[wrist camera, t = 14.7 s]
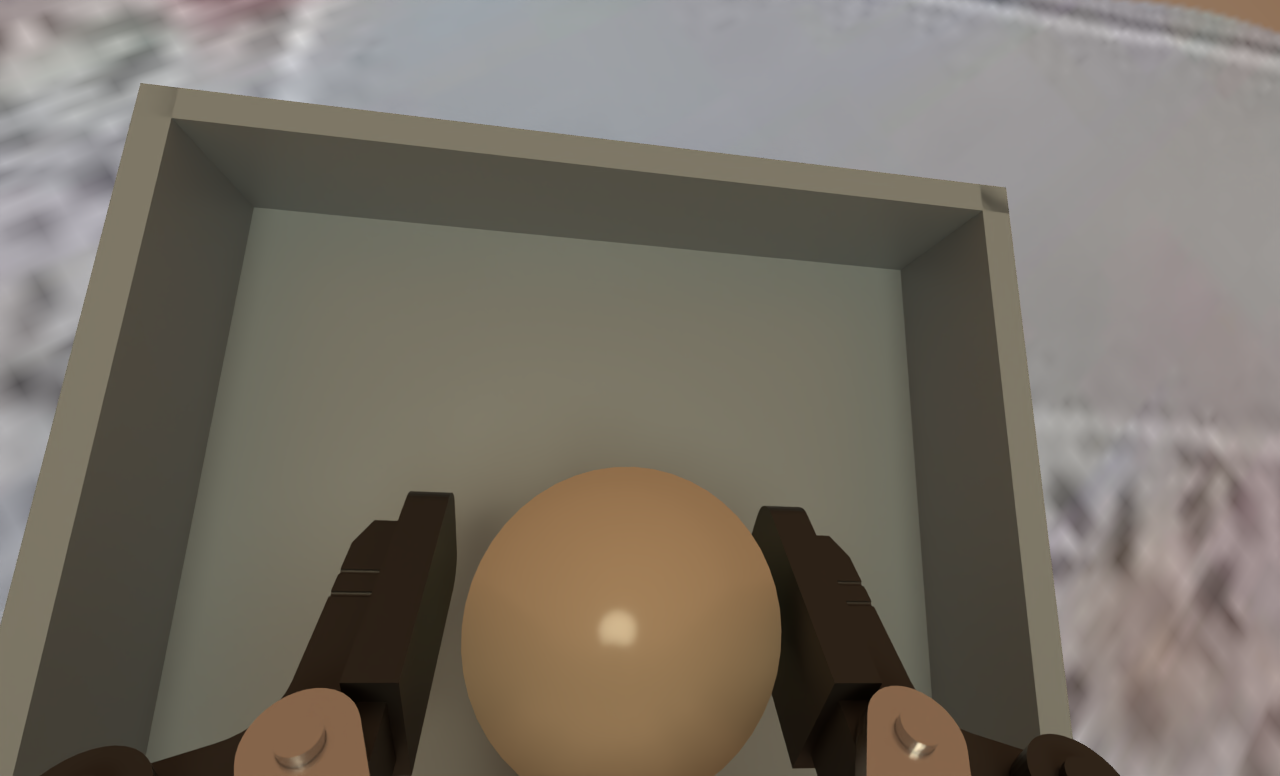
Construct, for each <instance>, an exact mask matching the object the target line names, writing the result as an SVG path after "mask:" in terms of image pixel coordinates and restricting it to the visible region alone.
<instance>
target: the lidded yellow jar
mask: <svg viewBox="0 0 1280 776" xmlns="http://www.w3.org/2000/svg"><path fill="white" fill-rule="evenodd" d="M780 652H781V618H780V607H779V602H778V597H777V592H776V587H775V584H774V581H773V578H772V575H771V572H770V569H769V566H768V564H767V562H766V560H765V558H764V555H763V553H762V551H761V549H760V547H759V546H758V544H757V543H756V541H755V539H754V538H753V536H752V534H751V533H750V531H749V530H748V529H747V528H746V526H745V525H744V524H743V523H742V521H741V520H740V519H739V518H738V516H737V515H736V514H734V513H733V512H732V511H731V510H730V509H729V508H728V507H727V506H726V505H725V504H724V503H723V502H722V501H720V500H719V499H718V498H716V497H715V496H714V495H712V494H711V493H710V492H708V491H707V490H705V489H703V488H702V487H700V486H698V485H696V484H694V483H693V482H691V481H689V480H686V479H684V478H681V477H679V476H676V475H674V474H671V473H667V472H663V471H659V470H655V469H648V468H639V467H612V468H605V469H598V470H593V471H589V472H586V473H582V474H579V475H576V476H573V477H571V478H568V479H566V480H564V481H561V482H559V483H557V484H555V485H553V486H552V487H550V488H548V489H547V490H545V491H543V492H542V493H540V494H538V495H537V496H536V497H534V498H533V499H532V500H530V501H529V502H528V503H527V504H525V505H524V506H523V507H522V508H520V509H519V510H518V512H517V513H516V514H515V515H514V516H513V517H512V518H511V519H510V520H509V521H508V522H507V523H506V524H505V525H504V526H503V528H502V529H501V530H500V532H499V533H498V534H497V536H496V537H495V538H494V539H493V541H492V542H491V544H490V546H489V547H488V549H487V551H486V553H485V554H484V556H483V558H482V559H481V561H480V564H479V566H478V568H477V571H476V573H475V575H474V578H473V580H472V583H471V586H470V590H469V593H468V597H467V600H466V604H465V609H464V616H463V622H462V634H461V656H462V666H463V675H464V679H465V684H466V688H467V692H468V697H469V699H470V702H471V705H472V707H473V710H474V713H475V715H476V718H477V720H478V722H479V724H480V726H481V728H482V729H483V731H484V733H485V735H486V737H487V739H488V740H489V742H490V743H491V744H492V746H493V747H494V748H495V750H496V751H497V752H498V754H499V755H500V756H501V758H502V759H503V760H504V761H505V762H506V763H507V764H508V765H509V766H510V767H511V768H512V769H513V770H514V771H515V772H516V773H517V774H518V775H519V776H714V775H716V774H717V773H718V772H719V771H721V770H722V769H723V768H724V767H725V766H726V765H727V764H728V763H729V762H730V761H731V760H732V759H733V758H734V757H735V756H736V755H737V754H738V752H739V751H740V750H741V748H742V747H743V746H744V744H745V743H746V742H747V740H748V739H749V738H750V736H751V735H752V733H753V731H754V730H755V728H756V726H757V724H758V723H759V721H760V719H761V717H762V716H763V713H764V711H765V708H766V706H767V704H768V701H769V699H770V696H771V694H772V690H773V686H774V683H775V679H776V676H777V671H778V665H779V659H780Z"/></svg>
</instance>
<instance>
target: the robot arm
mask: <svg viewBox="0 0 1280 776" xmlns="http://www.w3.org/2000/svg"><path fill="white" fill-rule="evenodd" d="M752 536H753V538H754V539H755V541H756V543H757V544H758V546H759V547H760V549H761V551H762V553H763V555H764V558H765V560H766V562H767V564H768V566H769V569H770V572H771V575H772V578H773V581H774V584H775V587H776V592H777V597H778V602H779V607H780V618H781V652H780V659H779V665H778V671H777V676H776V679H775V683H774V686H773V690H772V697H773V701H774V704H775V708H776V711H777V715H778V719H779V722H780V726H781V729H782V733H783V737H784V740H785V744H786V747H787V751H788V755H789V758H790V762H791V765H792V769H800V768H815V770H816V773H817V776H1120V775H1119V774H1118V773H1117V772H1116V771H1115V770H1114V768H1113V767H1112V766H1111V765H1110V764H1109V763H1107V762H1106V761H1105V760H1104V759H1103V758H1102V757H1101V756H1099V755H1098V754H1097V753H1095V752H1094V751H1093V750H1091V749H1090V748H1088V747H1087V746H1085V745H1083V744H1081V743H1079V742H1078V741H1076V740H1073V739H1071V738H1068V737H1066V736H1062V735H1058V734H1042V735H1039V736H1037V737H1035V738H1034V739H1033V740H1032V741H1031V742H1030V743H1029V744H1028V745H1027V746H1026V748H1025V749H1024V750H1023V749H1020V748H1017V747H1013V746H1010V745H1007V744H1004V743H1001V742H998V741H995V740H992V739H988V738H985V737H982V736H979V735H976V734H973V733H970V732H968V731H965V730H963V729H961V728H959V726H958V725H957V723H956V722H955V721H954V719H953V718H952V717H951V716H950V714H949V713H948V712H947V711H946V710H945V709H944V708H943V707H942V706H941V705H940V704H938V703H937V702H936V701H934V700H933V699H932V698H930V697H929V696H927V695H925V694H923V693H922V692H919V691H917V690H916V689H915V688H914V686H913V684H912V682H911V681H910V679H909V677H908V675H907V673H906V670H905V668H904V666H903V664H902V662H901V660H900V658H899V656H898V654H897V652H896V650H895V648H894V646H893V644H892V642H891V640H890V638H889V636H888V634H887V632H886V630H885V628H884V626H883V624H882V622H881V620H880V618H879V615H878V613H877V611H876V609H875V607H874V606H872V605H871V599H870V597H869V595H868V593H867V591H866V589H865V587H864V586H862V584H861V582H862V581H861V579H860V577H859V575H858V573H857V571H856V569H855V567H854V565H853V563H852V560H851V558H850V557H849V556H848V555H847V554H846V553H845V552H844V550H843V549H842V548H841V547H840V546H839V545H838V544H837V543H836V542H835V541H834V540H833V539H832V538H831V537H830V536H824V535H816V533H815V531H814V529H813V526H812V524H811V522H810V520H809V517H808V515H807V513H806V511H805V510H804V509H803V508H801V507H785V506H762V507H761V508H760V510H759V512H758V515H757V518H756V521H755V524H754V528H753V531H752ZM456 566H457V539H456V518H455V498H454V494H453V493H449V492H423V491H410V492H409V493H408V495H407V497H406V499H405V502H404V505H403V508H402V510H401V513H400V516H399V519H398V521H390V520H374V521H373V522H372V523H371V524H370V525H369V526H368V527H367V528H366V529H365V530H364V531H363V532H362V533H361V534H360V535H359V536H358V537H357V538H356V539H355V540H354V541H353V542H352V543H351V546H350V548H349V550H348V552H347V555H346V557H345V559H344V562H343V564H342V566H341V571H340V574H338V576H337V578H336V580H335V583H334V585H333V587H332V589H331V595H330V596H328V599H327V601H326V603H325V606H324V608H323V610H322V613H321V615H320V617H319V620H318V622H317V624H316V626H315V629H314V631H313V633H312V636H311V638H310V640H309V643H308V645H307V647H306V650H305V652H304V654H303V657H302V659H301V661H300V663H299V666H298V668H297V670H296V673H295V675H294V677H293V680H292V682H291V684H290V686H289V688H288V689H287V691H286V692H285V694H284V695H283V697H282V698H281V700H279V701H277V702H275V703H274V704H273V705H271V706H270V707H268V708H267V709H266V710H265V711H264V712H262V713H261V714H260V715H259V716H258V717H257V718H256V719H255V720H254V721H253V723H252V724H251V725H250V726H249V728H247V729H246V730H244V731H242V732H241V733H239V734H237V735H235V736H233V737H231V738H228V739H226V740H223V741H220V742H218V743H215V744H212V745H208V746H205V747H202V748H199V749H195V750H192V751H189V752H186V753H182V754H179V755H176V756H173V757H169V758H166V759H163V760H159V761H156V762H153V763H150V761H149V759H148V758H147V757H146V756H145V755H144V754H143V753H142V752H140V751H138V750H137V749H135V748H131V747H127V746H117V745H114V746H104V747H99V748H95V749H91V750H88V751H85V752H82V753H79V754H77V755H75V756H73V757H70V758H68V759H66V760H64V761H62V762H61V763H59V764H57V765H55V766H54V767H52V768H50V769H49V770H47V771H46V772H45V773H43V774H42V775H40V776H412V772H413V768H414V763H415V759H416V754H417V750H418V745H419V741H420V736H421V732H422V727H423V723H424V718H425V714H426V709H427V705H428V700H429V696H430V691H431V687H432V682H433V678H434V673H435V669H436V664H437V660H438V655H439V651H440V646H441V642H442V637H443V633H444V628H445V624H446V619H447V615H448V610H449V606H450V601H451V597H452V592H453V588H454V582H455V575H456Z"/></svg>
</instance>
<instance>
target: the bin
mask: <svg viewBox="0 0 1280 776" xmlns="http://www.w3.org/2000/svg"><path fill="white" fill-rule="evenodd" d="M612 467H639V468H648V469H655V470H659V471H663V472H667V473H671V474H674V475H676V476H679V477H681V478H684V479H686V480H689V481H691V482H693V483H694V484H696V485H698V486H700V487H702V488H703V489H705V490H707V491H708V492H710V493H711V494H712V495H714V496H715V497H716V498H718V499H719V500H720V501H722V502H723V503H724V504H725V505H726V506H727V507H728V508H729V509H730V510H731V511H732V512H733V513H734V514H736V515H737V516H738V518H739V519H740V520H741V521H742V523H743V524H744V525H745V526H746V528H747V529H748V530H749V531H750V533H751V534H752V531H753V528H754V524H755V521H756V518H757V515H758V512H759V510H760V508H761V507H762V506H785V507H801V508H803V509H804V510H805V511H806V513H807V515H808V517H809V520H810V522H811V524H812V526H813V529H814V531H815V533H816V535H824V536H830V537H831V538H832V539H833V540H834V541H835V542H836V543H837V544H838V545H839V546H840V547H841V548H842V549H843V550H844V552H845V553H846V554H847V555H848V556H849V557H850V558H851V560H852V563H853V565H854V567H855V569H856V571H857V573H858V575H859V577H860V579H861V581H862V582H861V584H862V586H864V587H865V589H866V591H867V593H868V595H869V597H870V599H871V605H872V606H874V607H875V609H876V611H877V613H878V615H879V618H880V620H881V622H882V624H883V626H884V628H885V630H886V632H887V634H888V636H889V638H890V640H891V642H892V644H893V646H894V648H895V650H896V652H897V654H898V656H899V658H900V660H901V662H902V664H903V666H904V668H905V670H906V673H907V675H908V677H909V679H910V681H911V682H912V684H913V686H914V688H915V689H916V690H917V691H919V692H922V693H923V694H925V695H927V696H929V697H930V698H932V699H933V700H934V701H936V702H937V703H938V704H940V705H941V706H942V707H943V708H944V709H945V710H946V711H947V712H948V713H949V714H950V716H951V717H952V718H953V719H954V721H955V722H956V723H957V725H958V726H959V728H961V729H963V730H965V731H968V732H970V733H973V734H976V735H979V736H982V737H985V738H988V739H992V740H995V741H998V742H1001V743H1004V744H1007V745H1010V746H1013V747H1017V748H1020V749H1023V750H1024V749H1025V748H1026V746H1027V745H1028V744H1029V743H1030V742H1031V741H1032V740H1033V739H1034V738H1035V737H1037V736H1039V735H1042V734H1058V735H1062V736H1066V737H1068V738H1071V739H1073V737H1072V729H1071V721H1070V713H1069V704H1068V696H1067V688H1066V680H1065V671H1064V663H1063V655H1062V647H1061V638H1060V630H1059V622H1058V614H1057V605H1056V597H1055V589H1054V581H1053V572H1052V564H1051V556H1050V548H1049V539H1048V531H1047V523H1046V515H1045V506H1044V498H1043V490H1042V482H1041V473H1040V465H1039V457H1038V449H1037V440H1036V432H1035V424H1034V416H1033V407H1032V399H1031V391H1030V383H1029V374H1028V366H1027V358H1026V350H1025V341H1024V333H1023V325H1022V317H1021V308H1020V300H1019V292H1018V284H1017V275H1016V267H1015V259H1014V251H1013V242H1012V234H1011V226H1010V218H1009V209H1008V201H1007V193H1006V188H1005V187H996V186H988V185H980V184H972V183H963V182H955V181H947V180H938V179H930V178H922V177H914V176H905V175H897V174H889V173H880V172H872V171H864V170H856V169H847V168H839V167H831V166H822V165H814V164H806V163H798V162H789V161H781V160H773V159H764V158H756V157H748V156H740V155H731V154H723V153H715V152H706V151H698V150H690V149H682V148H673V147H665V146H657V145H648V144H640V143H632V142H624V141H615V140H607V139H599V138H590V137H582V136H574V135H566V134H557V133H549V132H541V131H532V130H524V129H516V128H508V127H499V126H491V125H483V124H474V123H466V122H458V121H450V120H441V119H433V118H425V117H416V116H408V115H400V114H392V113H383V112H375V111H367V110H358V109H350V108H342V107H334V106H325V105H317V104H309V103H300V102H292V101H284V100H276V99H267V98H259V97H251V96H242V95H234V94H226V93H218V92H209V91H201V90H193V89H184V88H176V87H168V86H160V85H151V84H143V83H141V84H140V88H139V92H138V96H137V100H136V103H135V107H134V111H133V115H132V119H131V123H130V127H129V130H128V134H127V138H126V142H125V146H124V150H123V154H122V158H121V161H120V165H119V169H118V173H117V177H116V181H115V185H114V188H113V192H112V196H111V200H110V204H109V208H108V212H107V215H106V219H105V223H104V227H103V231H102V235H101V239H100V243H99V246H98V250H97V254H96V258H95V262H94V266H93V270H92V273H91V277H90V281H89V285H88V289H87V293H86V297H85V300H84V304H83V308H82V312H81V316H80V320H79V324H78V328H77V331H76V335H75V339H74V343H73V347H72V351H71V355H70V358H69V362H68V366H67V370H66V374H65V378H64V382H63V385H62V389H61V393H60V397H59V401H58V405H57V409H56V413H55V416H54V420H53V424H52V428H51V432H50V436H49V440H48V443H47V447H46V451H45V455H44V459H43V463H42V467H41V470H40V474H39V478H38V482H37V486H36V490H35V494H34V498H33V501H32V505H31V509H30V513H29V517H28V521H27V525H26V528H25V532H24V536H23V540H22V544H21V548H20V552H19V555H18V559H17V563H16V567H15V571H14V575H13V579H12V583H11V586H10V590H9V594H8V598H7V602H6V606H5V610H4V613H3V617H2V621H1V625H0V776H40V775H42V774H43V773H45V772H46V771H47V770H49V769H50V768H52V767H54V766H55V765H57V764H59V763H61V762H62V761H64V760H66V759H68V758H70V757H73V756H75V755H77V754H79V753H82V752H85V751H88V750H91V749H95V748H99V747H104V746H114V745H117V746H127V747H131V748H135V749H137V750H138V751H140V752H142V753H143V754H144V755H145V756H146V757H147V758H148V759H149V761H150V763H153V762H156V761H159V760H163V759H166V758H169V757H173V756H176V755H179V754H182V753H186V752H189V751H192V750H195V749H199V748H202V747H205V746H208V745H212V744H215V743H218V742H220V741H223V740H226V739H228V738H231V737H233V736H235V735H237V734H239V733H241V732H242V731H244V730H246V729H247V728H249V726H250V725H251V724H252V723H253V721H254V720H255V719H256V718H257V717H258V716H259V715H260V714H261V713H262V712H264V711H265V710H266V709H267V708H268V707H270V706H271V705H273V704H274V703H275V702H277V701H279V700H281V698H282V697H283V695H284V694H285V692H286V691H287V689H288V688H289V686H290V684H291V682H292V680H293V677H294V675H295V673H296V670H297V668H298V666H299V663H300V661H301V659H302V657H303V654H304V652H305V650H306V647H307V645H308V643H309V640H310V638H311V636H312V633H313V631H314V629H315V626H316V624H317V622H318V620H319V617H320V615H321V613H322V610H323V608H324V606H325V603H326V601H327V599H328V596H330V595H331V589H332V587H333V585H334V583H335V580H336V578H337V576H338V574H340V571H341V566H342V564H343V562H344V559H345V557H346V555H347V552H348V550H349V548H350V546H351V543H352V542H353V541H354V540H355V539H356V538H357V537H358V536H359V535H360V534H361V533H362V532H363V531H364V530H365V529H366V528H367V527H368V526H369V525H370V524H371V523H372V522H373V521H374V520H390V521H398V519H399V516H400V513H401V510H402V508H403V505H404V502H405V499H406V497H407V495H408V493H409V492H410V491H423V492H449V493H453V494H454V498H455V518H456V539H457V566H456V575H455V582H454V588H453V592H452V597H451V601H450V606H449V610H448V615H447V619H446V624H445V628H444V633H443V637H442V642H441V646H440V651H439V655H438V660H437V664H436V669H435V673H434V678H433V682H432V687H431V691H430V696H429V700H428V705H427V709H426V714H425V718H424V723H423V727H422V732H421V736H420V741H419V745H418V750H417V754H416V759H415V763H414V768H413V772H412V776H519V775H518V774H517V773H516V772H515V771H514V770H513V769H512V768H511V767H510V766H509V765H508V764H507V763H506V762H505V761H504V760H503V759H502V758H501V756H500V755H499V754H498V752H497V751H496V750H495V748H494V747H493V746H492V744H491V743H490V742H489V740H488V739H487V737H486V735H485V733H484V731H483V729H482V728H481V726H480V724H479V722H478V720H477V718H476V715H475V713H474V710H473V707H472V705H471V702H470V699H469V697H468V692H467V688H466V684H465V679H464V675H463V666H462V656H461V634H462V622H463V616H464V609H465V604H466V600H467V597H468V593H469V590H470V586H471V583H472V580H473V578H474V575H475V573H476V571H477V568H478V566H479V564H480V561H481V559H482V558H483V556H484V554H485V553H486V551H487V549H488V547H489V546H490V544H491V542H492V541H493V539H494V538H495V537H496V536H497V534H498V533H499V532H500V530H501V529H502V528H503V526H504V525H505V524H506V523H507V522H508V521H509V520H510V519H511V518H512V517H513V516H514V515H515V514H516V513H517V512H518V510H519V509H520V508H522V507H523V506H524V505H525V504H527V503H528V502H529V501H530V500H532V499H533V498H534V497H536V496H537V495H538V494H540V493H542V492H543V491H545V490H547V489H548V488H550V487H552V486H553V485H555V484H557V483H559V482H561V481H564V480H566V479H568V478H571V477H573V476H576V475H579V474H582V473H586V472H589V471H593V470H598V469H605V468H612ZM714 776H817V773H816V770H815V768H800V769H792V765H791V762H790V758H789V755H788V751H787V747H786V744H785V740H784V737H783V733H782V729H781V726H780V722H779V719H778V715H777V711H776V708H775V704H774V701H773V697H772V694H771V696H770V699H769V701H768V704H767V706H766V708H765V711H764V713H763V716H762V717H761V719H760V721H759V723H758V724H757V726H756V728H755V730H754V731H753V733H752V735H751V736H750V738H749V739H748V740H747V742H746V743H745V744H744V746H743V747H742V748H741V750H740V751H739V752H738V754H737V755H736V756H735V757H734V758H733V759H732V760H731V761H730V762H729V763H728V764H727V765H726V766H725V767H724V768H723V769H722V770H721V771H719V772H718V773H717V774H716V775H714Z"/></svg>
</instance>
